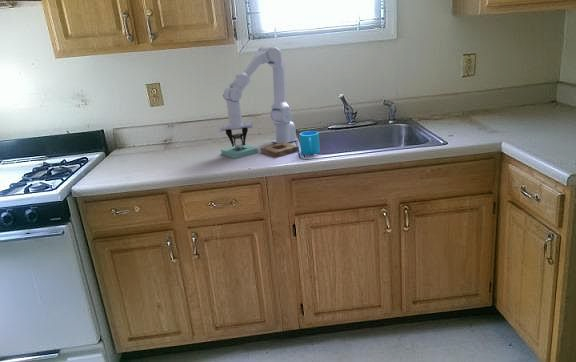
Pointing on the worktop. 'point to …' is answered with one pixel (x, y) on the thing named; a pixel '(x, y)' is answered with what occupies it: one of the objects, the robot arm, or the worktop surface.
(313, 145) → the mug
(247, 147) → the socket board
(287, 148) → the mount board
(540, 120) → the worktop surface
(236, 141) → the lock pin
